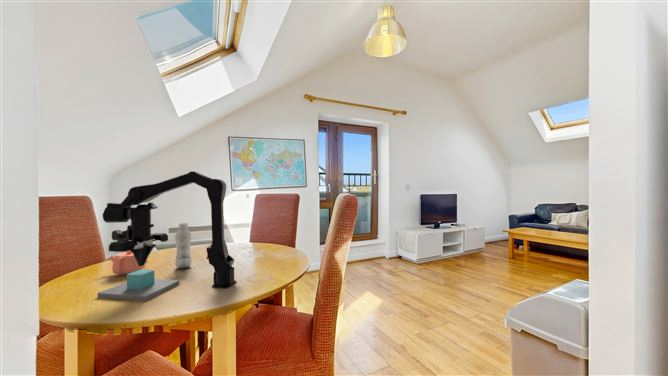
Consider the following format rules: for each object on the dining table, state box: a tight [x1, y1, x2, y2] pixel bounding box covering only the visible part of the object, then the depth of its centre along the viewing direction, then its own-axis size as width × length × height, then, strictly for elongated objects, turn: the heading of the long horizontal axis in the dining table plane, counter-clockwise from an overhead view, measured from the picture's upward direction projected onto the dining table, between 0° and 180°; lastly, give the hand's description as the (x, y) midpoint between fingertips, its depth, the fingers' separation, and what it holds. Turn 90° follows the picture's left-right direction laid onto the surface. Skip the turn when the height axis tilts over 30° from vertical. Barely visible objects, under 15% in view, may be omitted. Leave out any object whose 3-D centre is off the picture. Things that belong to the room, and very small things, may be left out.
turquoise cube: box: [126, 269, 155, 290], centre depth 94 cm, size 6×6×5 cm
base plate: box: [97, 278, 180, 302], centre depth 94 cm, size 18×15×2 cm
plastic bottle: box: [174, 222, 192, 269], centre depth 120 cm, size 6×7×20 cm
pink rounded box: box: [109, 251, 148, 277], centre depth 112 cm, size 12×12×10 cm
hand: (141, 265), depth 94 cm, fingers closed
